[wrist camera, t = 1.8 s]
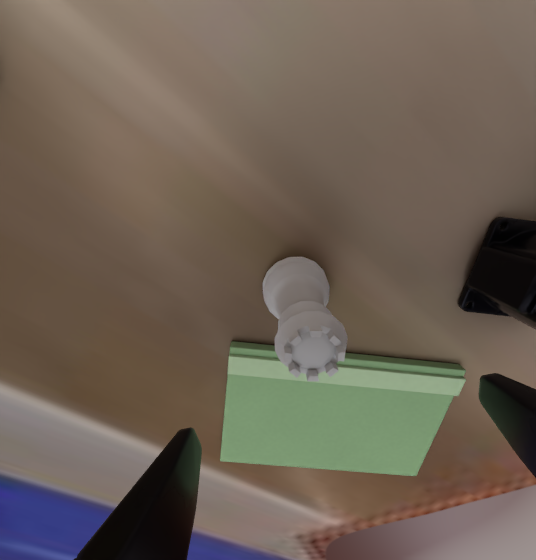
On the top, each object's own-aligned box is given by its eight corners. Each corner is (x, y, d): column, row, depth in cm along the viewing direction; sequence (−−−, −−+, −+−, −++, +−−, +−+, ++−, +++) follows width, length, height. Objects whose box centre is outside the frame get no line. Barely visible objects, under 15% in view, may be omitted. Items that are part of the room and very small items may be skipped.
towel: (459, 363, 21) (469, 373, 20) (411, 467, 25) (418, 480, 24) (231, 340, 20) (229, 349, 19) (221, 452, 24) (219, 464, 23)
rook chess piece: (257, 308, 19) (252, 392, 11) (268, 248, 17) (271, 299, 10) (317, 318, 19) (351, 405, 12) (333, 260, 18) (384, 318, 10)
